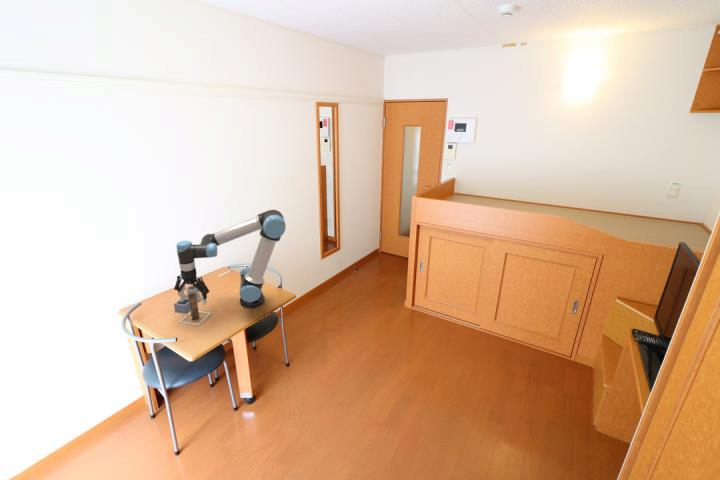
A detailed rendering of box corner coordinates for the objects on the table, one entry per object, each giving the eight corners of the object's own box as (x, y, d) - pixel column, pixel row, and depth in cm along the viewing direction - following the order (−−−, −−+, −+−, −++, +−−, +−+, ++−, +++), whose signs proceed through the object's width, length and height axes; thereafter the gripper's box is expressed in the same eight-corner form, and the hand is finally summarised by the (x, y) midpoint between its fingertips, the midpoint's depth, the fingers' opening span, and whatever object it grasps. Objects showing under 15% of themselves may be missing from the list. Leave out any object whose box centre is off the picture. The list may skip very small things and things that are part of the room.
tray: (211, 315, 197) (211, 313, 197) (198, 327, 186) (198, 324, 186) (193, 312, 199) (192, 310, 199) (179, 324, 188) (179, 321, 187)
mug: (197, 304, 207) (195, 287, 203) (178, 303, 207) (175, 286, 203) (203, 298, 214) (201, 282, 210) (185, 297, 214) (182, 281, 210)
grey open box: (194, 307, 204) (193, 299, 202) (186, 314, 197) (185, 305, 195) (183, 306, 205) (182, 297, 203) (175, 312, 198) (173, 304, 196)
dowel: (200, 317, 194) (197, 293, 188) (196, 321, 190) (193, 296, 185) (194, 316, 195) (191, 292, 189) (190, 320, 191) (186, 295, 185)
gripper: (213, 268, 183) (217, 301, 190) (172, 263, 186) (178, 296, 194) (204, 274, 176) (209, 308, 183) (162, 269, 180) (169, 303, 187)
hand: (193, 302), depth 189 cm, fingers open, 13 cm apart
